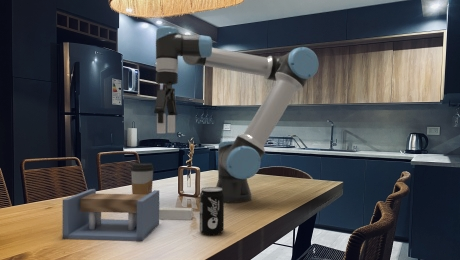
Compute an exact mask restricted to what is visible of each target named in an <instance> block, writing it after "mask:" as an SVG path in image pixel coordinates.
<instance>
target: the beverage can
mask: <svg viewBox="0 0 460 260" xmlns="http://www.w3.org/2000/svg"><path fill="white" fill-rule="evenodd" d="M224 208H225V202H224V194H223V192H222V188H219V187H216V186H208V187H207V186H206V187H202V188H201V191H200V193H199V231H200V232H201V234H202V235H204V236H218V235H221V234H222V232H224V230H225V229H224V228H225V226H224V225H225V224H224V223H225V222H224V221H225V220H224V215H225V214H224V213H225V210H224Z"/></svg>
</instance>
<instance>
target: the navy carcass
mask: <svg viewBox="0 0 460 260" xmlns="http://www.w3.org/2000/svg"><path fill="white" fill-rule="evenodd" d="M96 190H97V189H96V188H90V189H87V190H85V191H81V192H80V193H77V194H75V195H71V196H69V197H67V198H63V199H62V232H61V233H62V240H63V239H64V240H65V239H67V240H68V239H69V240H94V241H97V240H98V241H128V242H129V241H133V242H143V241H145V239H146V238H147V237H149V235H150V234H151V233H152V232H153V231H154V230H155V229H156V228H157V227H158V226H159V225H160V219H159V209H160V190H159V189H157V190H156V189H155V190H152V192H151V193H149V194H148V195H146V196H145V197H143V198H141V199H140V200H138V201H137V213H128V214H127V216H128V219H115V218H114V219H109V218H108V219H107V218H102V212H80V199H81V198H83V197H86V196H88V195H91V194H97V191H96Z"/></svg>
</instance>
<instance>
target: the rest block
mask: <svg viewBox="0 0 460 260" xmlns="http://www.w3.org/2000/svg"><path fill="white" fill-rule="evenodd" d="M192 219H193V207H159V220H168V221H170V220H171V221H173V220H174V221H175V220H176V221H177V220H178V221H191V220H192Z"/></svg>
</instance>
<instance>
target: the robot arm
mask: <svg viewBox="0 0 460 260" xmlns="http://www.w3.org/2000/svg"><path fill="white" fill-rule="evenodd" d="M178 57H182V60H183V62H184V63H185V64H186V65H188V66H196V65H199V66H203V67H204V66H205V67H210V68H215V69H221V70H226V71H233V72H237V73H245V74H250V75H255V76H260V77H263V78H264V79H265V80H268V81H269V80H270V81H273V82H274V83H273V85H272V86H271V88H270V90H269V91H268V93H267V95H266V96H265V98H264V100H263V101H262V103H261V104H260V106H259V108H258V110H257V111H256V113H255V115H254V116H253V118H252V119H251V121H250V122H249V124H248V126H247V128H246V129H245V132H243V133H242V134H239V135H237V136H236V138H235V140H228V141H221V142H219V144H218V148H217V152H218V155H217V156H218V159H217V164H218V165H217V168H218V169H217V170H218V171H217V172H218V177H217V178H218V179H217V183H216V186H215V187H219V188H222V192H223V194H224V203H242V202H243V203H244V202H245V203H246V202H248V201H251V200H252V191H251V189H250V185H249V183H248V179H250V178H252V177H254V176H256V174H257V173H258V171H259V170H260V168H261V164H262V163H261V159H262V157H264V155H265V153H266V150H265V145H266V143H267V141H268V139H270V138H269V137H270V136H271V135H272V133H273V131H274V129H275V128H276V126H277V124H278V122H279V121H280V119H281V118H282V117H283V115H284V113H285V111H286V109H287V108H288V106H289V104H290V103H291V101H292V99H293V98H294V96H295V95H296V92H300V91H302V90H303V89H304V87H305V85H306V84H307V82H308V81H309V79H312V77H314V76H315V75H316V73H317V72H318V70H319V65H320V64H319V58H318V56H317V55H316V53H315V51H314V50H312V49H311V48H308V47H306V46H305V47H304V46H301V47H300V46H299V47H297V48H296V47H295V48H293V49H292V50H291V51H289V52H287V53H286V54H284V55H279V56H273V55H269V56H267V57H265V56H259V55H255V54H250V53H249V54H248V53H243V52H239V51H238V52H237V51H233V50H227V49H222V48H216V47H213V40H212V37H211V36H208V35H203V34H201V35H199V34H198V35H197V34H196V35H195V34H181V33H179V30H178V29H177V27H174V26H170V25H162V26H159V27H158V28H157V29H156V35H155V63H154V66H155V71H156V73H155V82H156V84H157V93H156V98H155V107H154V111H153V113H154V114H156V134H166V128H167V134H175V133H176V116H178V113H179V112H178V110H177V103H176V101H177V100H176V94H175V93H176V92H175V88H174V87H173V85H178V82H179V81H178V80H179V75H178V72H179V60H178V59H179V58H178ZM166 109H167V114H168V115H166V113H165V112H166ZM166 116H167V118H166ZM166 119H167V121H166ZM166 123H167V127H166Z"/></svg>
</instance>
